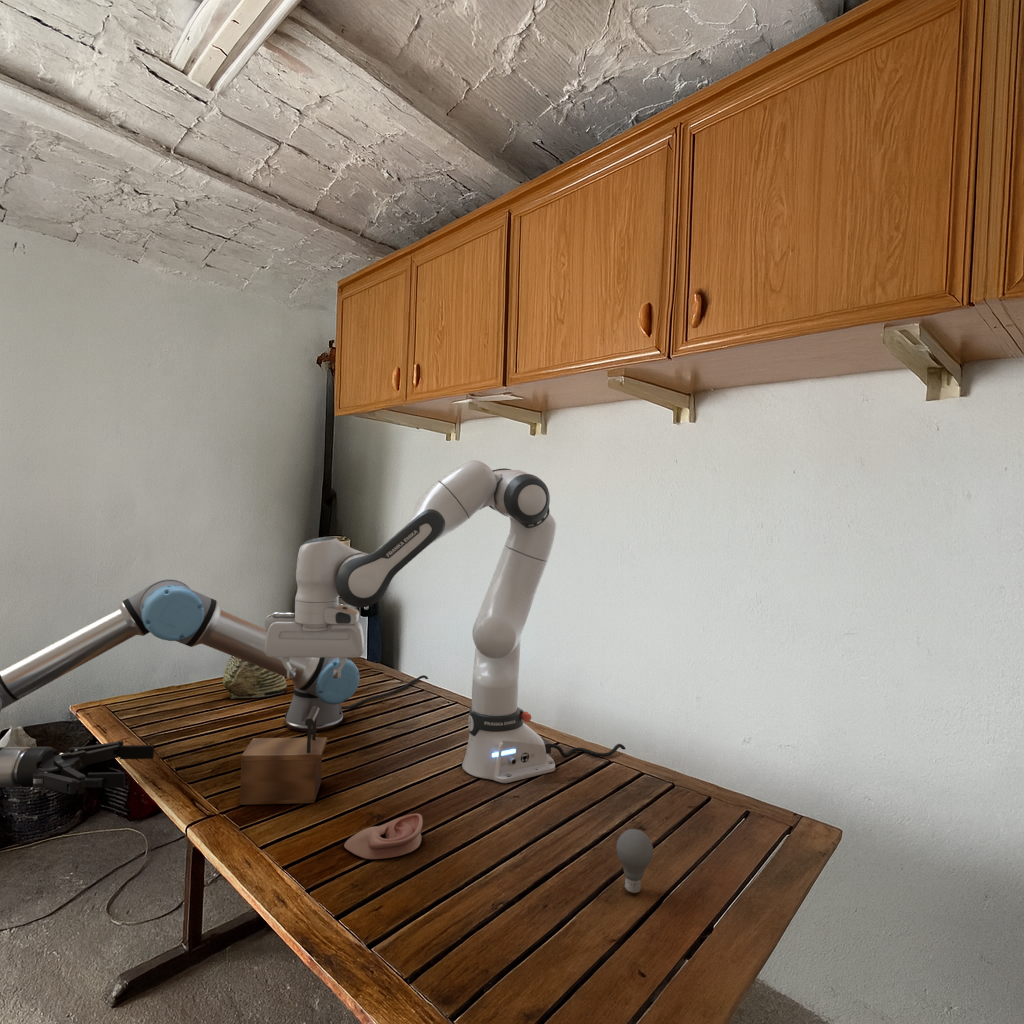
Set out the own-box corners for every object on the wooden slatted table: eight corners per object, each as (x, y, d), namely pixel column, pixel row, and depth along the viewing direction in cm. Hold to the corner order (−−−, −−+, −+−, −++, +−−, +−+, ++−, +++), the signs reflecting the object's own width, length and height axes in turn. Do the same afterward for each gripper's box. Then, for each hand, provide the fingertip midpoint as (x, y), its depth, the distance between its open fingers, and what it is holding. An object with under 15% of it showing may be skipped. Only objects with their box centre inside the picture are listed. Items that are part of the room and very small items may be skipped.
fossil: (218, 695, 195) (220, 647, 195) (278, 685, 208) (279, 640, 207) (228, 703, 189) (230, 653, 188) (289, 692, 201) (290, 645, 201)
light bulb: (610, 879, 108) (613, 822, 108) (644, 879, 109) (647, 822, 109) (619, 902, 102) (622, 840, 102) (655, 901, 103) (658, 840, 103)
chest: (321, 782, 140) (322, 742, 140) (314, 803, 131) (315, 760, 131) (251, 784, 138) (253, 743, 138) (239, 804, 129) (241, 761, 129)
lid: (327, 742, 140) (328, 704, 140) (320, 760, 131) (322, 719, 131) (253, 743, 138) (254, 705, 138) (241, 761, 129) (242, 720, 128)
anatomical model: (336, 832, 112) (364, 802, 124) (336, 854, 112) (363, 822, 124) (407, 843, 110) (429, 812, 121) (406, 866, 110) (428, 832, 121)
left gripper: (60, 759, 140) (163, 758, 143) (-17, 816, 115) (109, 813, 118) (61, 726, 139) (164, 725, 142) (-16, 775, 115) (110, 773, 118)
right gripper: (261, 614, 130) (259, 681, 130) (363, 616, 133) (361, 681, 133) (269, 609, 136) (266, 673, 137) (366, 611, 139) (363, 673, 140)
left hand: (139, 765), depth 130 cm, fingers open, 13 cm apart
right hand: (314, 677), depth 135 cm, fingers open, 8 cm apart
